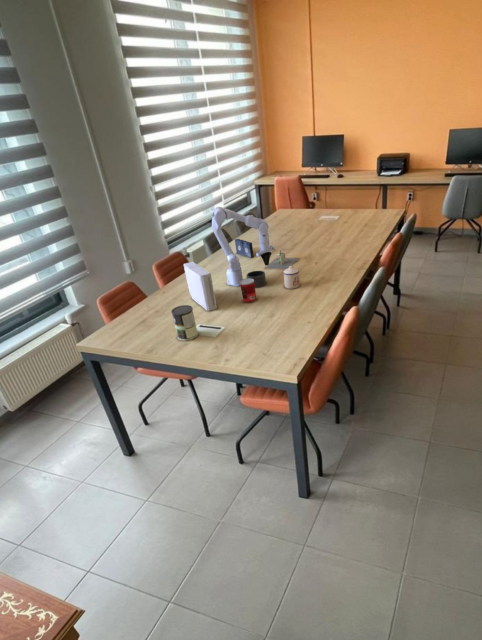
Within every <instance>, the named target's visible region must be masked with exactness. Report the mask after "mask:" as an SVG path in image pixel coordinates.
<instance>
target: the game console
mask: <svg viewBox="0 0 482 640" xmlns="http://www.w3.org/2000/svg"><path fill="white" fill-rule="evenodd" d="M182 266H183V270H184V274H185V278H186V282H187V287H188V291H189V292H188V293H189V295H190V297H191V299H192V300H193V301H195V302H196V303H197V304H198V305H199V306H201V307H202V308H203V309H204V310H205V311H207V312H211V311H214V310H217V309H218V307H217V300H216V295H215V289H214V284H213V279H212V274H211V272H209V271H208V270H206V269H204V268H203V267H201V266H200V265H198V264H197V263H196V262H193V261H190V262H186V263H183V265H182Z"/></svg>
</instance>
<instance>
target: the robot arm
mask: <svg viewBox="0 0 482 640" xmlns="http://www.w3.org/2000/svg"><path fill="white" fill-rule="evenodd" d="M226 220H227V221H228V220H235V221H239V222H241V223H244V225H245V226H246V227H249V228H252V229H253V230H254V229H255V230H257V231H258V242H259V243H258V244H259V250H258V251H257V252H256V253H255V257H258V258H261V259H262V262H263V263H264V266H266V267H267V266H268V265H269V264H270V259H271V256H272V251H273V250H275V245H270V237H269V236H270V235H269V224H268V223H267V221H266V220H265V219H263V218H261V217H259V218H258V217H256V216H254V215H253V214H249V215H243V214H241V213H238V212H236V211H234V210H232V209H228V208H225V207H224V208H223V207H221V206H218V207H215V209H213V212H212V217H211V229H212V232H213V233H214V236H215V237H216V239H217V242H218V244H219V245H220V247H221V249H222V251H223V252H224V254H225V256H226V259H227V261H228V264H229V268H228V269H227V270H226V280H227V283H226V285H227V286H232V287H237V288H238V287H241V285H240V281H242V280H244V278H243V270H242V267H241V266H242V265H241V262H240V259H239V258H238V256H236V254H235V253H234V251H233V249H232V247H231V245H230V243H229V241H228V239H227V238H226V236H225V233H224V232H223V230H222V225H223V223H224V222H225V221H226Z"/></svg>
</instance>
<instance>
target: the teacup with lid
mask: <svg viewBox="0 0 482 640" xmlns="http://www.w3.org/2000/svg"><path fill="white" fill-rule="evenodd" d="M282 274H283V281H284V287H285V288H286V289H291V290H293V289H297V288H299V287H300V285H301V283H300V270H299V268H297V267H294V266H293V265H291V266H289V268H287V269H283V272H282Z"/></svg>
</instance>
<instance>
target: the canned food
mask: <svg viewBox="0 0 482 640" xmlns="http://www.w3.org/2000/svg"><path fill="white" fill-rule="evenodd" d="M240 291H241V299H242V301H243V303H248V304H250V303H253V302H255V301H256V300H257V292H256V288H255V283H254V279H250V278H249V279H247V278H243V280H242V281H240Z"/></svg>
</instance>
